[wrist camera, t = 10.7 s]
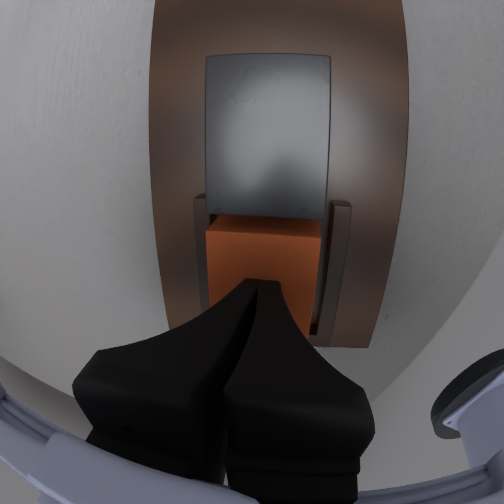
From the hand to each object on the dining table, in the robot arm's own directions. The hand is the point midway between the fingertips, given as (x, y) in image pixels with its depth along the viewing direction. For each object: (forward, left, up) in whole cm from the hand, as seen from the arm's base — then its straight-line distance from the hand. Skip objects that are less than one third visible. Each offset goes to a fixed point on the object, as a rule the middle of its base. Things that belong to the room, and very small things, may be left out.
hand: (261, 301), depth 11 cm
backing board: (+9, -14, -5) cm, 18 cm away
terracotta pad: (0, 0, -3) cm, 3 cm away
